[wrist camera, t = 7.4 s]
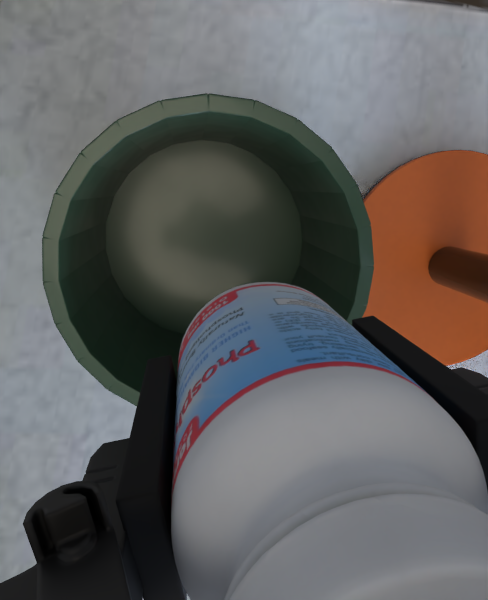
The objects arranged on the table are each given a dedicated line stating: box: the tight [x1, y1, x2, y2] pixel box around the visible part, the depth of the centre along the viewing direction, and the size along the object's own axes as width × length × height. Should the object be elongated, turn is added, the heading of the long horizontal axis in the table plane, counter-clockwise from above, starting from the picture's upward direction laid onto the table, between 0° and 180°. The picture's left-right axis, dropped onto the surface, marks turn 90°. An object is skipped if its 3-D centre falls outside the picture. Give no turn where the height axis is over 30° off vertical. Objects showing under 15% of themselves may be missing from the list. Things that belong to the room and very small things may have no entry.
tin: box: [42, 94, 374, 406], centre depth 28 cm, size 17×17×12 cm
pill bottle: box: [171, 282, 488, 600], centre depth 10 cm, size 6×6×11 cm
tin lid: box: [362, 150, 488, 366], centre depth 32 cm, size 18×18×10 cm
